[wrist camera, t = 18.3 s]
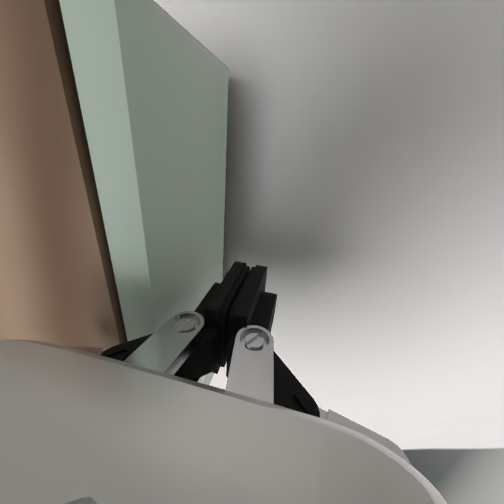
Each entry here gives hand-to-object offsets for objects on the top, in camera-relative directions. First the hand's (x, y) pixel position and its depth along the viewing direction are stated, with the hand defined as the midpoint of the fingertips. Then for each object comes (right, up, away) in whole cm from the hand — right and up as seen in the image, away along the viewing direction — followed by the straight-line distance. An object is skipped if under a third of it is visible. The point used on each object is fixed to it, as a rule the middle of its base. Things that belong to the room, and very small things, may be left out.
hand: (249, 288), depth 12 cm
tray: (-10, +3, +5) cm, 11 cm away
